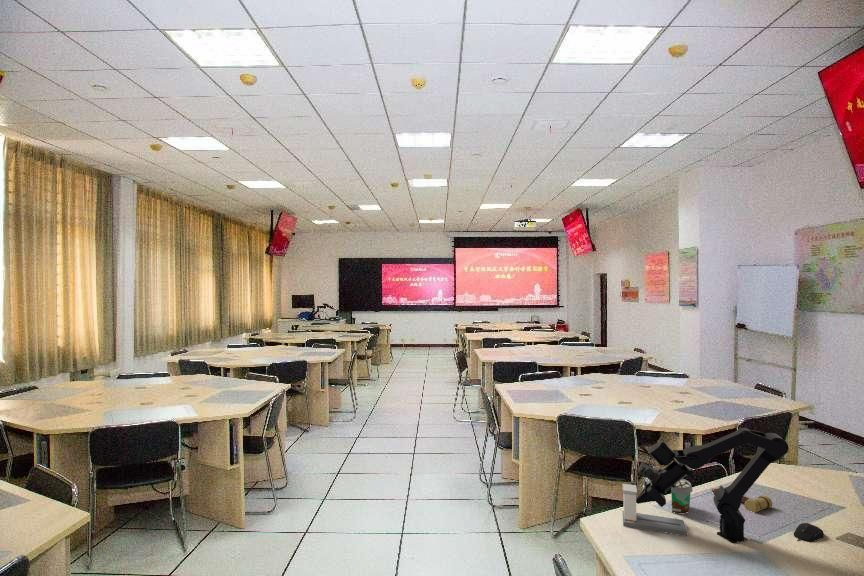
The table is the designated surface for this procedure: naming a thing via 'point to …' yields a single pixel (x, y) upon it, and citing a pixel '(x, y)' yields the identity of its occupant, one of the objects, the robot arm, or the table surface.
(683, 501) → the food container
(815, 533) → the gaming mouse
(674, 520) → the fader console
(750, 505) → the gavel
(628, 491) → the fader knob
